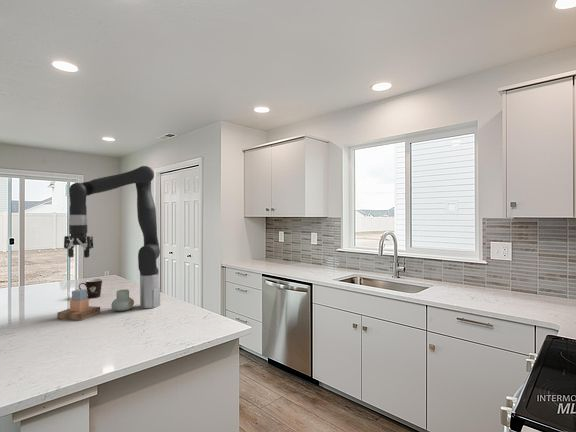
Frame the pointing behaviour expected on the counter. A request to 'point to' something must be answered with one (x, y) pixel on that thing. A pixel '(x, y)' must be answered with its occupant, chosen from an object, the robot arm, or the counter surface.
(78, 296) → the slate block
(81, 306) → the terracotta block
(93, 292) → the coffee mug
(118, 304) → the air freshener
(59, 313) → the walnut plinth
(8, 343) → the counter surface
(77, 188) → the robot arm
